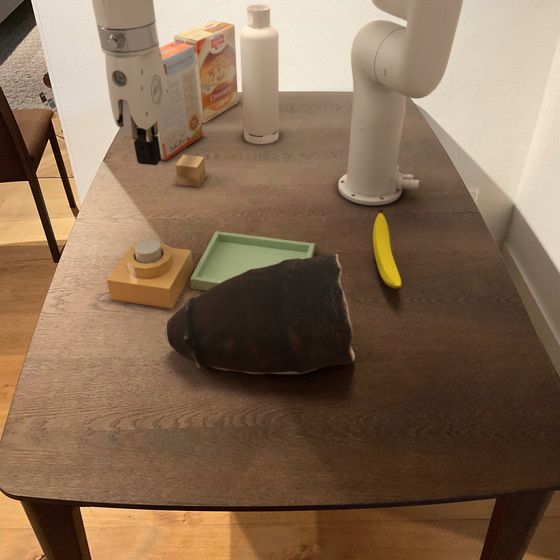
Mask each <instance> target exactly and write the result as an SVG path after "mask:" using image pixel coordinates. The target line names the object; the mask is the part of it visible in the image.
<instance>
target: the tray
mask: <svg viewBox="0 0 560 560" xmlns="http://www.w3.org/2000/svg"><path fill="white" fill-rule="evenodd" d="M315 247H316V243H313V242H306V241H305V242H303V241H297V240H287V239H281V238H275V237H274V238H272V237H265V236H257V235H249V234H241V233H233V232H226V231H225V232H224V231H217V230H216V231H215V232H214V234H213V235H212V237H211V239H210V241H209V242H208V245H207V247H206V249H205V250H204V252H203V254H202V255H201V258H200V260H199V262H198V264H197V265H196V267H195V269H194V270H193V272H192V273H191V275H190V277H189V281H190V289H192V290H199V291H204V292H205V291H207V290H208V289H210V288H212V287H214V286H216V285H218V284H220V283H221V282H223V281H225V280H227V279H230V278H232V277H234V276H237V275H240V274H242V273H244V272H246V271H248V270H250V269H255V268H262V267H266V266H270V265H274V264H277V263H280V262H282V261H283V260H287V259H296V258H300V259H305V258H312V257H315V256H314V255H315V251H316V250H315Z"/></svg>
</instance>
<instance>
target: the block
mask: <svg viewBox="0 0 560 560" xmlns="http://www.w3.org/2000/svg"><path fill="white" fill-rule="evenodd" d="M175 172H176V179H177V185H178V186H183V187H184V186H185V187H195V188H200V186H202V183H203V182H204V181H205V179H206V178H207V174H206V173H207V172H206V163H205V157H204V156H198V155H190V154H189V155H188V154H182V156H181V157H180V158H179V159H178V161H177V162H176V164H175Z"/></svg>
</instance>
